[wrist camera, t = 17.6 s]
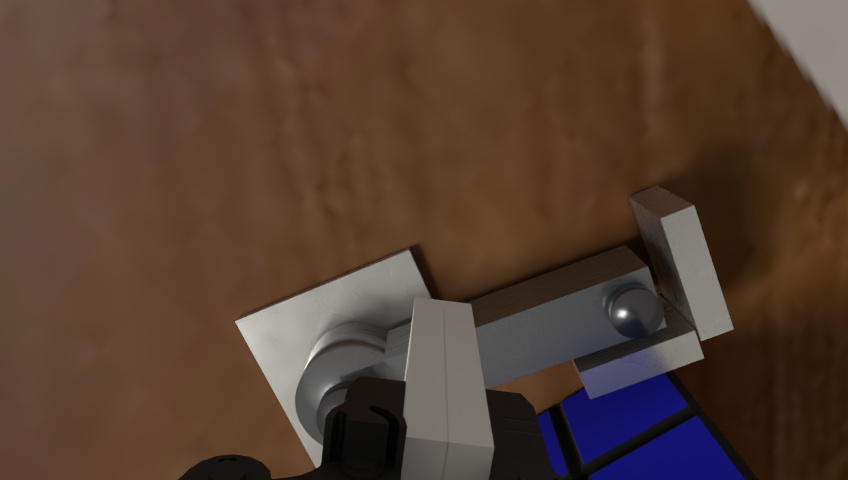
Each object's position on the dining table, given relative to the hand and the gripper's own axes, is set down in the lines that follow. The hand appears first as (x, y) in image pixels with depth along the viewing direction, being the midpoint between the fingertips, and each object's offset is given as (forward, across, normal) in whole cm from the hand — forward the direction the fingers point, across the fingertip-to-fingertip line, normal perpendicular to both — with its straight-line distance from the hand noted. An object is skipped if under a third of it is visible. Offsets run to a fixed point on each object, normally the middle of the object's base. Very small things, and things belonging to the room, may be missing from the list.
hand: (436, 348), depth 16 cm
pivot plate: (+9, -2, -5) cm, 11 cm away
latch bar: (+9, +2, -3) cm, 9 cm away
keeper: (+9, +7, 0) cm, 12 cm away
